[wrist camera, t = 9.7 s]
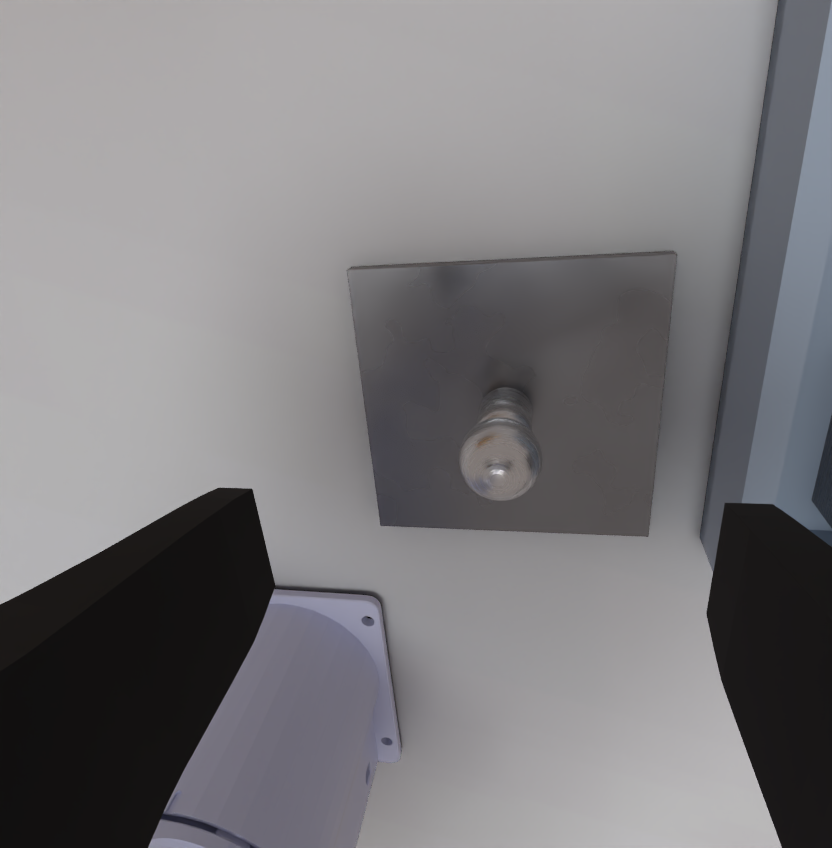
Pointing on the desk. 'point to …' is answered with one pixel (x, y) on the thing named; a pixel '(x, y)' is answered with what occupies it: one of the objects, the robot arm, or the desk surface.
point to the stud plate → (515, 390)
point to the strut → (825, 480)
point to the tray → (782, 292)
